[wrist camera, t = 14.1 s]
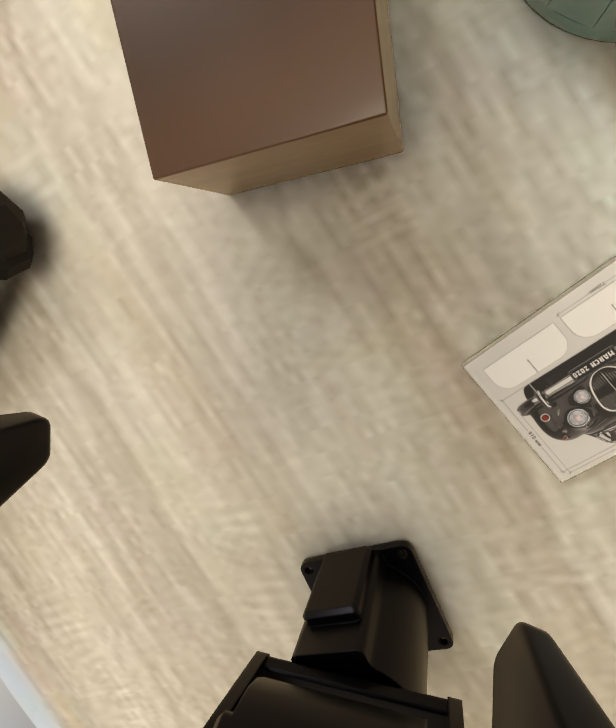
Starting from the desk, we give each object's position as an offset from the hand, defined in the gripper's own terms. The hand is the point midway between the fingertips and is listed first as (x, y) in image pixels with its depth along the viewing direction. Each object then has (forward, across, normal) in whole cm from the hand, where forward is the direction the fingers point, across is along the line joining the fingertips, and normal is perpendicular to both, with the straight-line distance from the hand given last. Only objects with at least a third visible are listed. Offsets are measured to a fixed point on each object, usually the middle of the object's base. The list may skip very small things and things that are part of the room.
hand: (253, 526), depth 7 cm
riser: (+13, +6, -10) cm, 18 cm away
